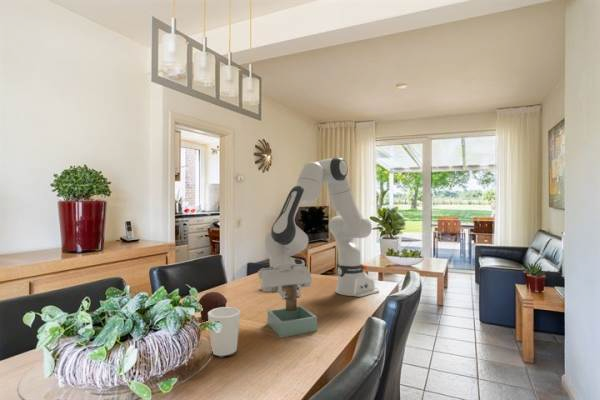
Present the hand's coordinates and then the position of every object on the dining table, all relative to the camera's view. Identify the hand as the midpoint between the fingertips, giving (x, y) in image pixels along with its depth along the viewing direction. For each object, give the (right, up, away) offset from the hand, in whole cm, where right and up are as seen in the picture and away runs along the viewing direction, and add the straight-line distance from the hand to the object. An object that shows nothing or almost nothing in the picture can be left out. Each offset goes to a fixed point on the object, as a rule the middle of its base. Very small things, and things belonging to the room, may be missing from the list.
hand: (291, 298), depth 122 cm
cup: (-20, -11, -20) cm, 31 cm away
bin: (0, -11, +1) cm, 11 cm away
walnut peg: (0, -4, 0) cm, 4 cm away
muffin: (-32, -11, +10) cm, 35 cm away
